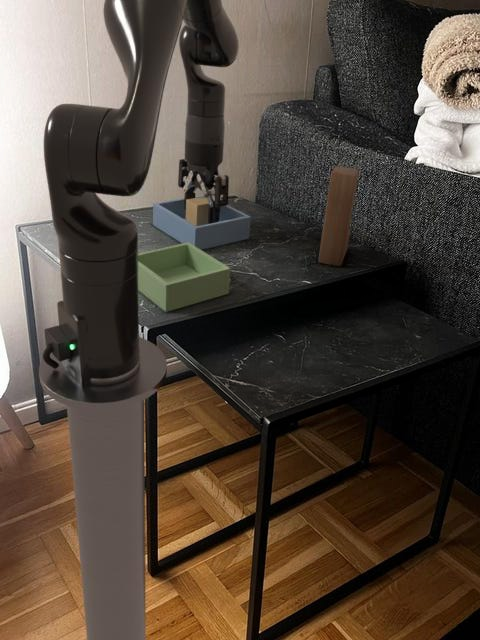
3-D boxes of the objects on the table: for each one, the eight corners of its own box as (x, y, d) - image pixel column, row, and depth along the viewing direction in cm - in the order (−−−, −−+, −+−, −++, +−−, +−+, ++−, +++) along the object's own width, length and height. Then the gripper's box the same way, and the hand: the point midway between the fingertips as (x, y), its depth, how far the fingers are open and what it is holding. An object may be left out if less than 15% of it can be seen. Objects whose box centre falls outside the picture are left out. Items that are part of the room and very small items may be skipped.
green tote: (165, 312, 97) (166, 285, 95) (126, 281, 106) (126, 255, 103) (228, 293, 104) (230, 268, 102) (187, 266, 113) (188, 242, 110)
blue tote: (194, 251, 119) (195, 228, 116) (152, 225, 129) (152, 203, 127) (249, 238, 126) (250, 216, 124) (205, 214, 137) (206, 194, 134)
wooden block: (325, 246, 126) (338, 159, 117) (347, 250, 125) (362, 162, 116) (317, 263, 118) (331, 171, 109) (340, 267, 117) (356, 175, 108)
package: (196, 233, 124) (197, 205, 121) (185, 227, 127) (186, 199, 124) (216, 229, 127) (217, 201, 124) (204, 223, 130) (206, 195, 127)
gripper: (168, 130, 121) (167, 209, 129) (210, 148, 111) (206, 232, 119) (199, 127, 125) (196, 203, 133) (242, 144, 115) (236, 225, 123)
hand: (201, 216), depth 126 cm, fingers open, 8 cm apart
